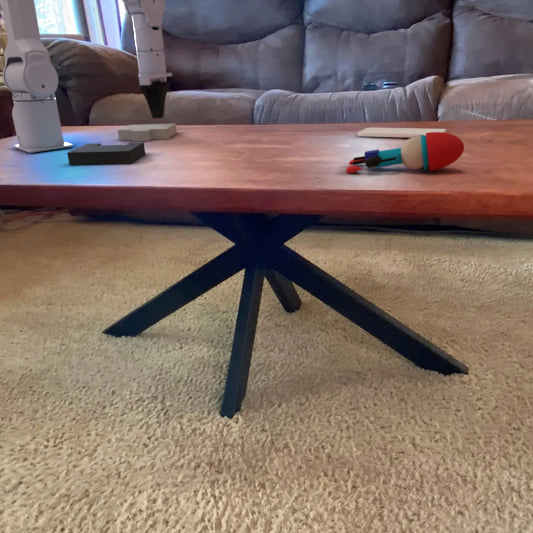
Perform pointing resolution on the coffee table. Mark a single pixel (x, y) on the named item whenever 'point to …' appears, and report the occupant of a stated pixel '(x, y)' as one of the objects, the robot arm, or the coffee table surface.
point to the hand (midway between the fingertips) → (158, 118)
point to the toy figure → (415, 153)
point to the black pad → (106, 154)
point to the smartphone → (397, 132)
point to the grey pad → (147, 132)
